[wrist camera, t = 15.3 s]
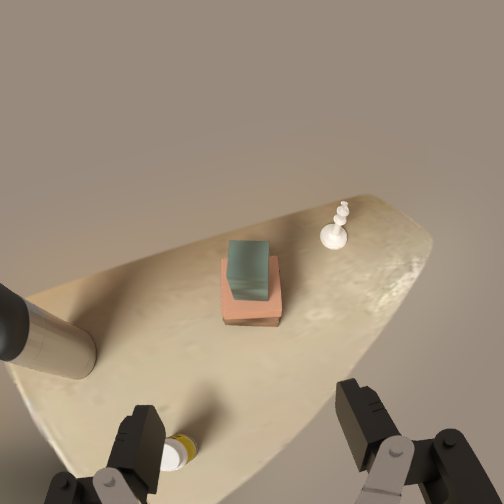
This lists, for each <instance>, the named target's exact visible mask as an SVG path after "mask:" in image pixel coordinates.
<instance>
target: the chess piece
mask: <svg viewBox="0 0 504 504" xmlns="http://www.w3.org/2000/svg"><path fill="white" fill-rule="evenodd" d="M341 204H342V206H339V207H338V208H337V214H336V215H335V216H334V222H335V224H328V225H326V226H325V227H323V229H322V230H321V232H320V240H321V242H322V243H323V244H324V245H325V246H326V247H328V248H330V249H340V248H342V247H343V246H344V245H345V244H346V241H347V234H346V231H345V230H344V229H343V228H342V227H341V225H344V224H345V223H346V217H347V216H348V215H349V209H348V208H347V204H348V203H347V202H344V201H341Z"/></svg>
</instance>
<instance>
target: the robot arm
mask: <svg viewBox="0 0 504 504" xmlns="http://www.w3.org/2000/svg"><path fill="white" fill-rule="evenodd" d="M0 360H3V361H6V362H9V363H12V364H16V365H20V366H23V367H27V368H30V369H34V370H38V371H41V372H45V373H49V374H54V375H58V376H62V377H67V378H71V379H81V378H84V377H86V376H87V375H88V374H89V373H90V372H91V370H92V369H93V367H94V364H95V360H96V348H95V344H94V341H93V340H92V338H91V336H90V335H89V334H88V333H87V332H85V331H83V330H81V329H79V328H77V327H75V326H73V325H72V324H70V323H68V322H66V321H64V320H62V319H60V318H58V317H56V316H54V315H52V314H50V313H49V312H47V311H45V310H43V309H41V308H39V307H38V306H36V305H34V304H32V303H30V302H29V301H27V300H25V299H24V298H22V297H20V296H19V295H17V294H15V293H14V292H12V291H11V290H9V289H8V288H6V287H5V286H4V285H2V284H1V283H0ZM335 408H336V414H337V417H338V420H339V422H340V424H341V427H342V429H343V432H344V435H345V437H346V439H347V442H348V445H349V447H350V450H351V452H352V455H353V457H354V460H355V462H356V465H357V467H358V470H359V472H362V471H365V470H367V472H368V474H369V475H368V477H367V480H366V482H365V484H364V486H363V488H362V490H361V492H360V494H359V496H358V498H357V500H356V502H355V504H399V503H400V500H401V492H402V489H403V486H404V485H412V484H418V486H419V488H420V490H421V493H422V495H423V498H424V500H425V503H426V504H502V502H501V500H500V498H499V496H498V494H497V492H496V490H495V488H494V487H493V485H492V483H491V481H490V479H489V478H488V476H487V474H486V472H485V470H484V469H483V467H482V465H481V464H480V462H479V460H478V458H477V457H476V455H475V454H474V452H473V450H472V448H471V447H470V445H469V443H468V442H467V440H466V439H465V437H464V435H463V434H462V433H461V432H460V431H458V430H456V429H445V430H442V431H441V432H439V433H438V434H437V435H436V437H435V438H434V439H427V440H420V441H413V440H410V439H409V438H407V437H405V436H402V435H401V434H400V433H399V431H398V429H397V428H396V426H395V424H394V423H393V421H392V419H391V417H390V416H389V414H388V412H387V410H386V409H385V407H384V405H383V403H382V402H381V400H380V398H379V397H378V395H377V393H376V392H375V391H373V390H372V389H371V388H369V387H368V386H366V387H362V388H360V387H359V385H358V383H357V381H356V380H355V379H354V378H352V379H348V380H344V381H340V382H337V385H336V402H335ZM165 438H166V432H165V427H164V425H163V423H162V421H161V419H160V417H159V415H158V413H157V411H156V409H155V407H154V406H153V405H136V406H135V408H134V411H133V414H132V416H127V417H126V418H125V419H124V420H123V421H122V422H121V424H120V426H119V429H118V434H117V435H116V438H115V441H114V444H113V447H112V451H111V454H110V457H109V460H108V463H107V466H106V468H103V469H100V470H99V471H97V472H96V474H95V475H94V476H93V477H86V478H76V477H75V476H73V475H72V474H71V473H69V472H60V473H58V474H56V475H55V476H54V477H53V479H52V480H51V484H50V487H49V490H48V493H47V496H46V499H45V503H44V504H149V502H148V501H147V494H156V492H157V486H158V479H159V473H160V467H161V461H162V455H163V450H164V444H165Z"/></svg>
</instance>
